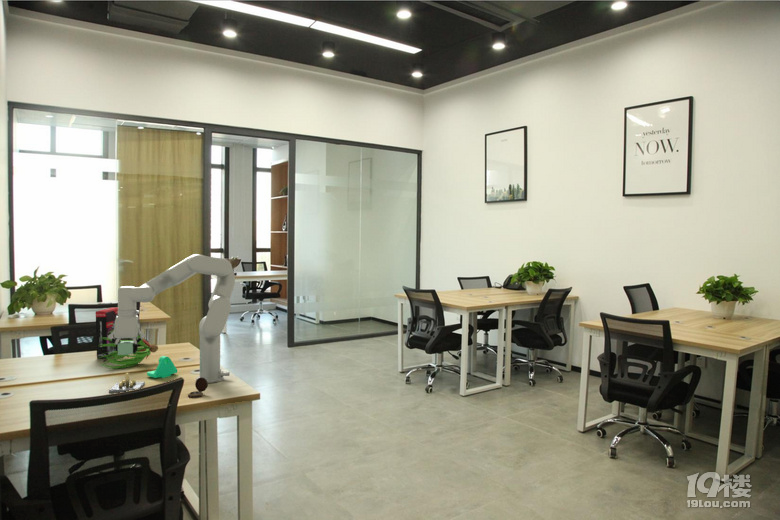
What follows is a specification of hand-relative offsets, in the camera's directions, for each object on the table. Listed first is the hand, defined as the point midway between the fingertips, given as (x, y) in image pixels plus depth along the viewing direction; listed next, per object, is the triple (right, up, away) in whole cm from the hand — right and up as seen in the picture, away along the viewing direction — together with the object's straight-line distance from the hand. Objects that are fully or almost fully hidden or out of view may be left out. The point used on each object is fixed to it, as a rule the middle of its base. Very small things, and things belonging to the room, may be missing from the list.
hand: (126, 352), depth 231 cm
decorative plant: (-21, -15, +41) cm, 48 cm away
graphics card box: (-43, -14, +63) cm, 78 cm away
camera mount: (+6, -16, +23) cm, 29 cm away
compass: (+36, -18, -8) cm, 41 cm away
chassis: (0, -17, +1) cm, 17 cm away
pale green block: (0, -1, 0) cm, 1 cm away
